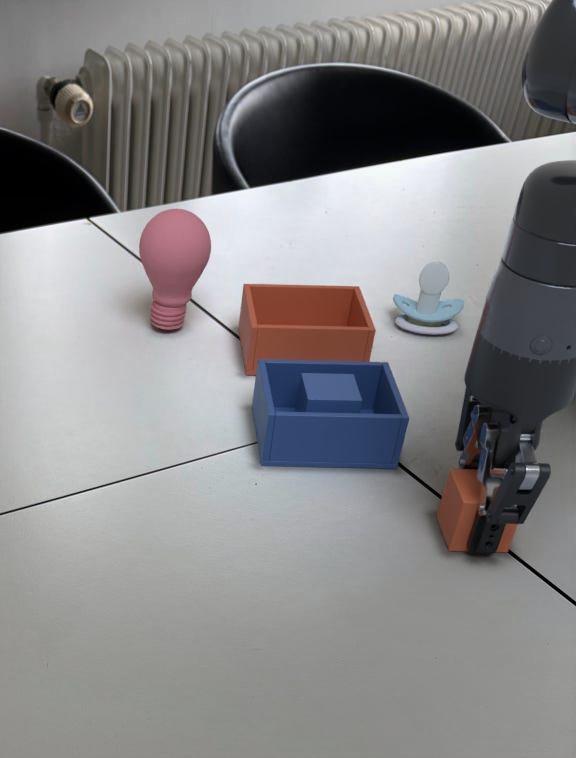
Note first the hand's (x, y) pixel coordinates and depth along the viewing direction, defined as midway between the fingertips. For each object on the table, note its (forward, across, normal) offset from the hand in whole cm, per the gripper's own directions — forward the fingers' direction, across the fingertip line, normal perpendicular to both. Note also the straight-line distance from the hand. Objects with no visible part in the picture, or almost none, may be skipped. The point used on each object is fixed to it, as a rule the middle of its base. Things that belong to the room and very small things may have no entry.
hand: (472, 530), depth 82 cm
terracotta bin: (0, +30, +10) cm, 32 cm away
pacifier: (+1, +37, -4) cm, 37 cm away
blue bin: (0, +14, +10) cm, 17 cm away
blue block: (0, +14, +10) cm, 17 cm away
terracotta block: (0, 0, 0) cm, 0 cm away
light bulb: (+1, +35, +23) cm, 42 cm away
